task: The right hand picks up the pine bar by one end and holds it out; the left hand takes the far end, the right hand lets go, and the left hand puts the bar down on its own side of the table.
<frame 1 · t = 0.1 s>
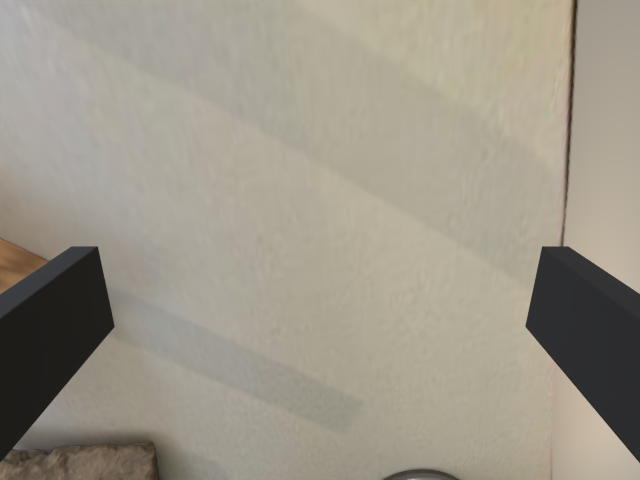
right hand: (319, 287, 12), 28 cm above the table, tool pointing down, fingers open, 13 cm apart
stone: (86, 471, 54), on the table
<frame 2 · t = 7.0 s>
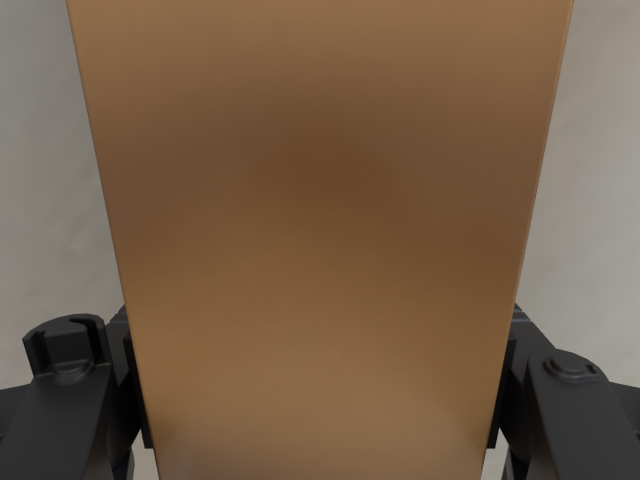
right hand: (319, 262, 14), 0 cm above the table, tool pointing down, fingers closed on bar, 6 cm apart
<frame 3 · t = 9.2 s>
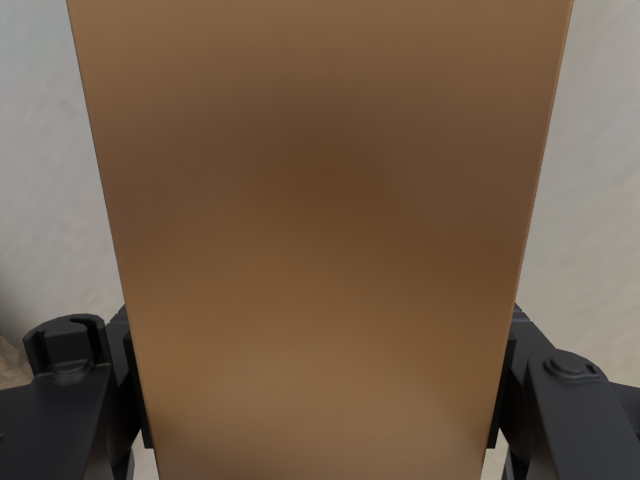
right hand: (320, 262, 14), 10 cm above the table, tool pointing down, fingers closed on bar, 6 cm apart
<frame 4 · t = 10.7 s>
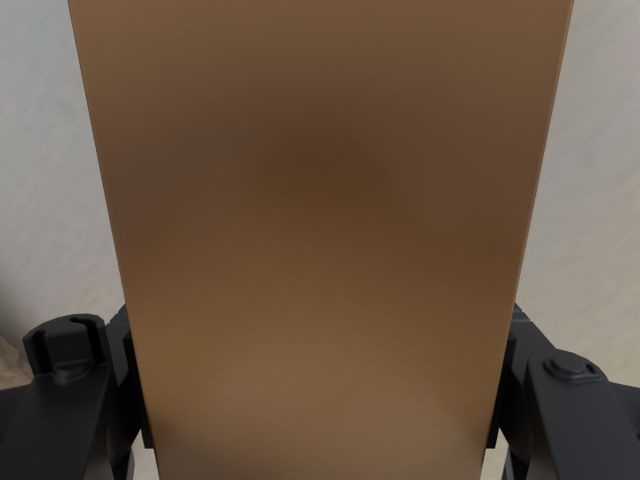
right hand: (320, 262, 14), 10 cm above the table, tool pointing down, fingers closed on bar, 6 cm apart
when the right hand's fingers open (10 cm above the table, at t = 11.8 s): bar stays where it is, held by the left hand.
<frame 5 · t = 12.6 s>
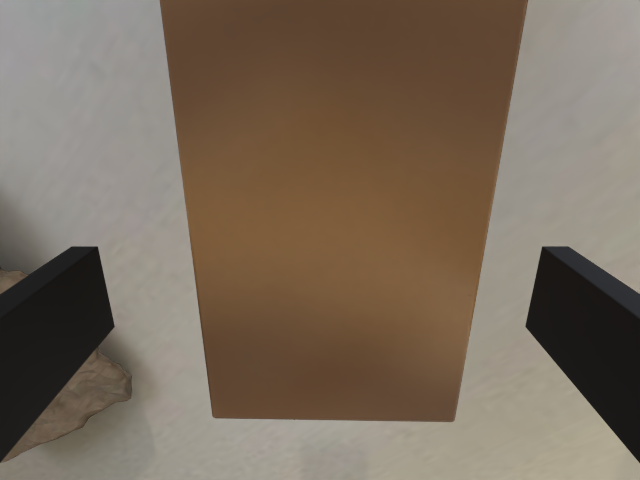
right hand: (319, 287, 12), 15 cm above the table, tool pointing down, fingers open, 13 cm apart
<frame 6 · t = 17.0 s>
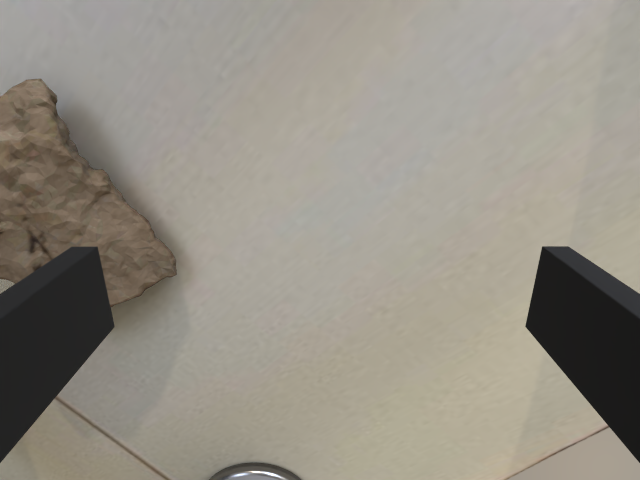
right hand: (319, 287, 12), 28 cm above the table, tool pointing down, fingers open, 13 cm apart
stone: (75, 210, 41), on the table
when the left hand's fingers open (4 cm above the table, at t = 23.2 s): bar stays where it is, on the table.
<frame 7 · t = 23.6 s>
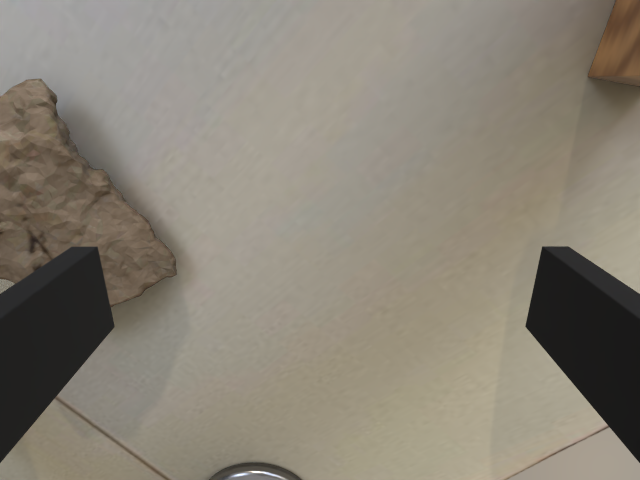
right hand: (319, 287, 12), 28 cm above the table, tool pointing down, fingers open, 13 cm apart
stone: (75, 210, 41), on the table
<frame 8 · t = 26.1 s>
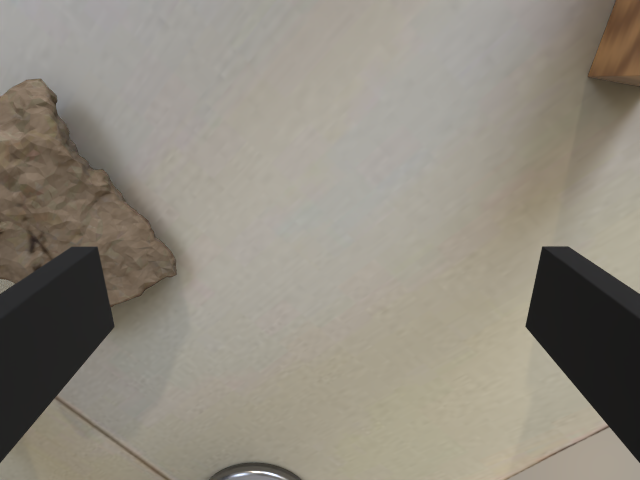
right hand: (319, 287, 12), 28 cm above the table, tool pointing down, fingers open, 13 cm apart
stone: (75, 210, 41), on the table
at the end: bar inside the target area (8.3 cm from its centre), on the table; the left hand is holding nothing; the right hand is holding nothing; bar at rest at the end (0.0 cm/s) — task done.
